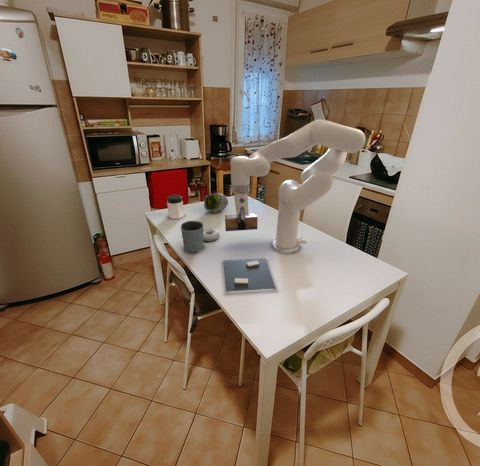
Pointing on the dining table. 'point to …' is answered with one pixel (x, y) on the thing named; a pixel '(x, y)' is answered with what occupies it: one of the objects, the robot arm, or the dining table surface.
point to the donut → (210, 234)
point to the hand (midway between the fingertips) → (241, 226)
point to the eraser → (232, 220)
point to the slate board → (247, 275)
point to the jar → (175, 206)
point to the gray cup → (192, 236)
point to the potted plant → (215, 202)
